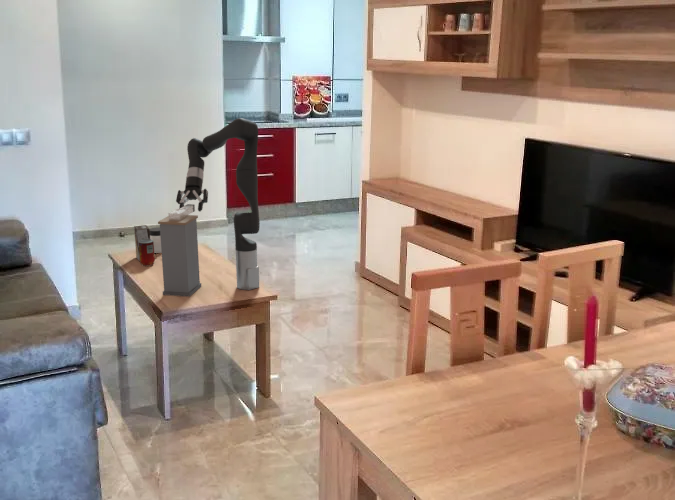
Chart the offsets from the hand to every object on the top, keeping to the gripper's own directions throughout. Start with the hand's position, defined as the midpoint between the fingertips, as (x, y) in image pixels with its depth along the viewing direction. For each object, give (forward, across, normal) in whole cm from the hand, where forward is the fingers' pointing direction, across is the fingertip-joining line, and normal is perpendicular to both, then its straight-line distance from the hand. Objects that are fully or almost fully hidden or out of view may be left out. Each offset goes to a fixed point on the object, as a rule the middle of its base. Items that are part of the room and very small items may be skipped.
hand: (190, 211), depth 324 cm
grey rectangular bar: (+8, -3, +13) cm, 16 cm away
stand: (+37, 0, -2) cm, 37 cm away
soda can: (+14, +32, -28) cm, 44 cm away
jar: (0, +36, -45) cm, 58 cm away
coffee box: (+8, +38, -34) cm, 52 cm away
